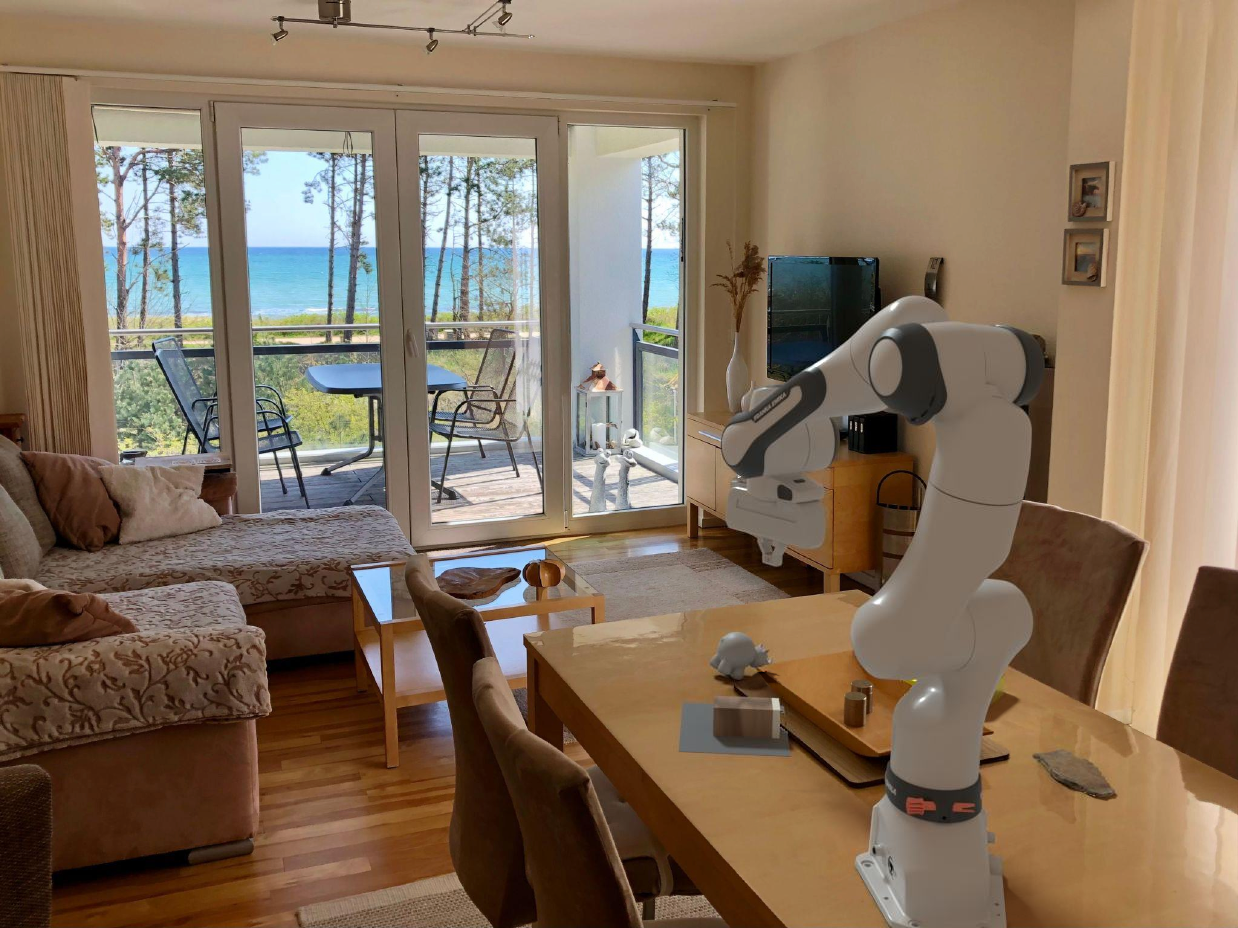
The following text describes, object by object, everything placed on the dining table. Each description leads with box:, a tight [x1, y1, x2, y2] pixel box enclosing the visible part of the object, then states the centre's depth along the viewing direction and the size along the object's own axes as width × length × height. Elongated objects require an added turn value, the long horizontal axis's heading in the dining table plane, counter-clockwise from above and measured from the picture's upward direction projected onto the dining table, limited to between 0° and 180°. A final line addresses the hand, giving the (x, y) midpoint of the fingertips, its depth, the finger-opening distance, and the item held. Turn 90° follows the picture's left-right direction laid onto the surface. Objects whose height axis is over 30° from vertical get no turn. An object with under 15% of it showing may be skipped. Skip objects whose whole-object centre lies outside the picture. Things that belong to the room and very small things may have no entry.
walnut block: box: [713, 695, 781, 738], centre depth 186 cm, size 5×5×11 cm
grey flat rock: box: [1032, 748, 1116, 798], centre depth 172 cm, size 8×16×2 cm, turn 8°
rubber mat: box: [678, 701, 792, 757], centre depth 187 cm, size 20×18×1 cm
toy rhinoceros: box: [709, 631, 774, 681], centre depth 211 cm, size 7×12×8 cm, turn 107°
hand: (772, 564), depth 183 cm, fingers closed
